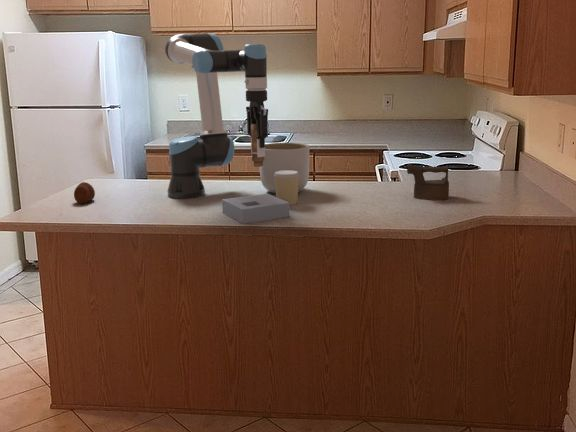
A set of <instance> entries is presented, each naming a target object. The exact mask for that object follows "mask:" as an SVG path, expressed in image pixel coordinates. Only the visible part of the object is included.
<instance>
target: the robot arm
mask: <svg viewBox="0 0 576 432" xmlns="http://www.w3.org/2000/svg"><path fill="white" fill-rule="evenodd" d="M164 52H165V56H166V58H168V60H170V61H171V62H172V63H175V64H177V65H178V64H179V65H181V64H185V65H188V66H190V67H191V69H192V71H194V72H195V73H196V74H195V76H196V82H197V93H198V102H199V109H200V119H201V128H202V131H201V132H200V134H199V139H198V137H197V136H195V135H194V136H193V135H192V136H191V135H190V136H183V137H178V138H175V139H173V140H171V141H170V142H169V144H168V149H169V150H168V154H169V167H170V180H169V184H168V188H167V196H168V197H169V198H173V199H192V198H198V197H201V196H204V195H205V193H206V191H205V189H206V188H205V185H204V183H203V181H202V179H201V175H200V169H203V168H210V167H221V166H222V167H223V166H227V165H229V164H230V163H231V162H232V161H233V158H234V155H235V143H234V140H233V138H232V137H231V136H229V134H228V131H227V130H225V129H224V124H223V115H222V113H223V112H222V106H221V97H220V96H221V95H220V87H219V77H218V73H235V72H236V73H237V72H238V73H239V72H242V73H243V72H244V74H245V75H244V77H245V80H244V83H245V89H246V91H245V101H246V102H249V106H245V112H246V127H247V135H249V136H250V151H251V152H250V155H251V156H252V139H251V124H257V132H258V137H257V138H256V139H257V157H265V144H266V138H268V136H269V122H268V115H269V109H268V108H265V105H264V102H266V101H267V100H268V91H267V90H266V89H268V77H267V73H268V71H267V64H268V63H267V57H268V56H267V47H266V44H264V43H259V44H257V43H255V44H254V43H251V44H249V43H247V44H245V45H244V49H229V50H228V49H224V44H223V42H222V40H221V38H220V37H219V36H218V35H217V34H215V33H208V32H205V33H204V32H202V33H178V34H175V35H173V36H172V37H170V38H169V39H168V40H167V41H166V43H165V46H164Z"/></svg>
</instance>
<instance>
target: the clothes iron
mask: <svg viewBox="0 0 576 432" xmlns="http://www.w3.org/2000/svg"><path fill="white" fill-rule="evenodd" d="M406 172H407V174H408V175H413V177H414V178H413V179H414V186H413V199H416V200H431V201H444V200H445V201H446V200H448V199H449V196H450V194H449V193H450V182H449V166H422V167H418V166H417V165H414V164H410V163H408V164H407V165H406ZM424 173H433V174H434V173H435V174H436V173H437V174H438V173H444V174H445V177H442V178H441V179H433V180H432V179H430V180H429V179H427V180H426V179H425V177H424Z"/></svg>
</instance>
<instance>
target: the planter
mask: <svg viewBox="0 0 576 432" xmlns="http://www.w3.org/2000/svg"><path fill="white" fill-rule="evenodd" d="M282 170H293V171H297V172H298V174H299V176H298V193H300V192H301V191H302V190H303V189H305V187H306V186H307V184H308V182H309V176H310V145H309V144H306V143H302V142H274V143H272V142H271V143H265V157H264V161H263V166H261V167H259V176H260V182H261V183H262V184H261V185H262V186H263V188H264V189H265V190H266V191H268V192H270V193H272V194H275V195H276V187H275V176H274V174H275V172H277V171H282Z"/></svg>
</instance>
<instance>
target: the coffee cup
mask: <svg viewBox="0 0 576 432" xmlns="http://www.w3.org/2000/svg"><path fill="white" fill-rule="evenodd" d="M274 176H275V187H276V194H275V195H276V196H275V197H277V198H279V199H281V200H284V201H286V202H289V206H292V205H293V204H294V205H296V203H297V204H298V197H299V196H298V195H299V194H298V193H299V192H298V176H299V174H298V172H297V171H293V170H282V171H277V172H275V174H274ZM294 205H293V206H294Z"/></svg>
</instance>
